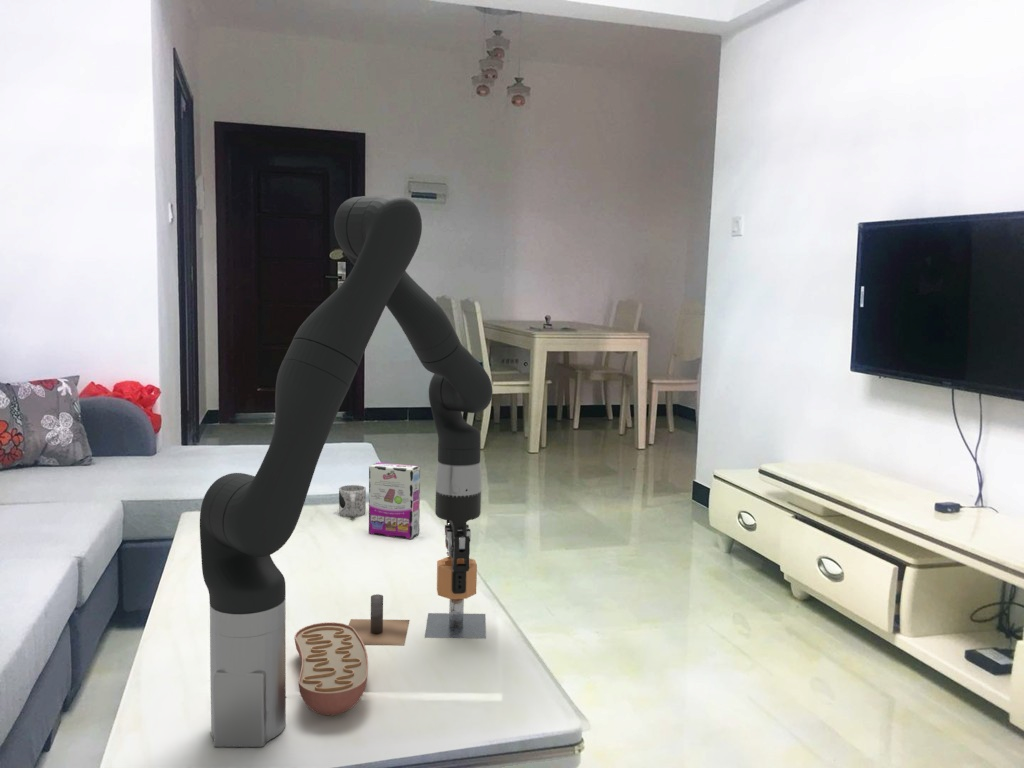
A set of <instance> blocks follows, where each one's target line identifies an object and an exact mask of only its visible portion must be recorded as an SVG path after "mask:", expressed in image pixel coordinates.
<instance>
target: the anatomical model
mask: <svg viewBox="0 0 1024 768" xmlns="http://www.w3.org/2000/svg"><path fill="white" fill-rule="evenodd" d="M294 643H295V648H296V651H297V653H298V655H299V657H300V660H301V669H300V672H299V675H298V689H299V693H300V696H301V697H300V698H301V699H302V701H303V702H304V703H305V705H306V706H307V707H308V708H309V709H311V710H312V711H313V712H314V713H317V714H320V715H324V716H336V715H341V714H344V713H346V712H348V711H350V710H351V709H352V708H353V707H354V706H356V704H358V702H359V701H360V700H361V697H362V696H363V695H364V692H365V689H366V687H367V681H368V675H369V659H368V652H367V649H366V645H364V643H363V641H362V640H361V638H360V636H359V635H358V634H357V632H356V631H355V629H354V628H352V627H351V626H349V624H345V623H341V622H320V623H319V622H318V623H313V624H310V625H307V626H306V625H305V627H302V628H300V629H299V630H297V632H295V634H294Z"/></svg>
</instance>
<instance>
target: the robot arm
mask: <svg viewBox="0 0 1024 768" xmlns="http://www.w3.org/2000/svg"><path fill="white" fill-rule="evenodd" d="M333 221H334V222H333V227H334V229H333V230H334V234H335V238H336V241H337V244H338V246H339V247H340V249H341V250H342V252H343V253H344V255H345V256H346V257H347V259H348V260H349V261H350V263H352V265H353V267H352V269H351V271H350V272H349V274H348V275H347V277H346V278H345V280H344V281H343V282H342V284H341V285H340V286H339V287H338V288H337V289H336V290H335V291H333V293H332V294H331V295H329V296H328V297H327V298H326V299H325V300H324V301H323V302H322V303H321V304H320V305H319V306H317V307H316V308H315V310H314V311H313V312H311V313H310V315H309V316H307V317H306V318H305V320H304V321H303V323H302V324H301V325H300V326H299V327H298V329H297V331H296V333H295V334H294V336H293V338H292V341H291V343H290V344H289V347H288V349H287V351H286V353H285V356H284V357H283V360H282V361H281V364H280V366H279V369H278V372H277V375H276V382H275V394H274V397H275V398H274V400H275V401H274V407H275V408H274V409H275V411H274V413H275V414H274V428H273V433H272V437H271V441H270V444H269V446H268V449H267V451H266V453H265V456H264V457H263V459H262V461H261V464H260V466H259V468H258V470H257V472H256V474H255V475H252V474H251V475H250V474H248V473H242V472H231V473H228V474H226V475H225V474H224V475H223V476H220V477H218V478H217V479H216V480H215V481H214V482H213V483H211V485H210V486H209V488H208V489H207V490H206V493H205V494H204V496H203V500H202V502H201V506H200V510H199V512H200V513H199V538H200V539H199V541H200V555H201V556H200V557H201V569H202V576H203V577H202V578H203V581H204V583H205V586H206V588H207V591H208V596H209V654H210V655H209V658H210V659H209V660H210V663H209V665H210V666H209V667H210V676H209V677H210V680H209V681H210V734H211V737H212V739H213V746H214V747H239V748H241V747H256V748H258V747H259V748H260V747H264V746H265V745H266V744H267V742H268V741H271V740H272V739H274V738H276V737H277V736H278V735H279V734H281V733H282V732H283V731H284V729H285V727H286V723H287V722H286V721H287V720H286V718H287V717H286V716H287V715H286V713H287V712H286V711H287V709H286V705H287V701H286V699H287V697H286V696H287V694H286V691H287V689H286V686H287V684H286V681H287V680H286V674H287V673H286V671H287V670H286V665H287V663H286V649H287V648H286V617H287V615H286V610H287V609H286V608H287V606H286V604H287V603H286V579H285V576H284V574H283V573H282V571H280V569H279V568H278V566H277V565H276V564H275V562H274V560H273V558H272V556H271V555H273V554H274V553H276V552H278V551H279V550H280V549H281V548H282V547H284V545H286V544H287V542H288V541H289V539H290V538H291V536H292V535H293V533H294V531H295V529H296V527H297V526H298V525H297V524H298V522H299V519H300V518H301V514H302V511H303V508H304V505H305V502H306V498H307V497H308V496H307V495H308V494H309V493H308V492H309V489H310V487H311V484H312V483H311V482H312V480H313V477H314V474H315V471H316V467H317V465H318V462H319V459H320V456H321V453H322V452H323V449H324V446H325V444H326V442H327V439H328V437H329V434H330V432H331V429H332V427H333V425H334V422H335V420H336V418H337V415H338V413H339V410H340V407H342V404H343V401H344V399H345V398H346V396H347V394H348V392H349V389H350V387H351V385H352V383H353V381H354V378H355V376H356V373H357V371H358V368H359V366H360V364H361V361H362V358H363V356H364V354H365V351H366V349H367V346H368V345H369V342H370V340H371V338H372V336H373V334H374V332H375V329H376V327H377V325H378V323H379V321H380V318H381V316H382V314H383V312H384V310H385V308H386V309H388V310H389V312H390V313H391V315H392V316H393V317H394V319H395V320H396V322H397V324H398V325H399V327H400V328H401V329H402V331H403V333H404V335H405V336H406V338H407V340H408V342H409V344H410V345H411V347H412V349H413V351H414V353H415V354H416V356H417V358H418V360H419V361H420V363H421V365H422V366H423V367H424V369H426V370H427V371H428V372H430V373H432V374H433V375H432V377H431V379H430V382H429V386H428V401H429V405H430V408H431V409H430V410H431V414H432V418H433V422H434V425H435V430H436V433H437V439H438V440H437V441H438V443H437V466H436V467H437V468H436V473H435V508H434V509H435V510H434V511H435V515H436V517H437V518H439V519H440V520H443V521H444V520H445V521H446V524H444V535H445V541H444V542H445V548H446V555H447V556H446V557H450V558H451V559H452V567H451V570H452V592H453V593H454V594H461V593H465V591H466V571H469V558H470V555H471V553H470V552H471V547H470V543H471V538H472V535H471V534H472V533H471V528H469V523H468V524H467V522H468V521H473V520H476V519H478V518H479V517H480V516H481V511H482V506H481V505H482V503H481V502H482V469H481V446H482V445H481V443H482V439H481V438H482V437H481V432H480V430H479V429H478V428H477V427H475V426H474V425H472V424H469V422H468V423H467V422H466V420H465V419H464V416H463V414H462V413H467V414H476V413H477V414H479V413H481V412H483V411H485V410H486V409H487V408H488V407H489V405H490V404H491V401H492V399H493V384H492V381H491V378H490V376H489V374H488V372H486V369H485V368H484V367H483V366H482V365H481V364H480V363H479V362H478V360H477V359H476V358H475V357H474V356H473V355H472V354H471V352H470V351H469V350H468V349H467V348H466V347H465V346H464V345H463V344H462V342H461V341H460V338H459V337H458V334H457V332H456V331H455V330H456V329H455V328H454V326H453V324H452V323H451V319H449V317H448V315H447V314H446V312H445V311H444V310H443V308H442V307H441V305H440V304H438V302H437V301H436V300H435V299H434V298H433V297H432V296H431V295H429V294H428V293H427V292H426V291H425V289H423V288H422V287H421V286H420V285H419V284H418V283H417V282H416V281H415V280H414V278H412V277H411V276H410V275H409V273H408V272H407V271H406V270H407V269H408V267H409V266H410V264H411V261H412V260H413V258H414V256H415V254H416V252H417V249H418V247H419V245H420V242H421V241H420V240H421V238H422V237H421V236H422V233H423V232H422V231H423V224H422V223H423V222H422V216H421V213H420V210H419V208H418V207H417V205H416V203H414V202H413V201H412V200H411V199H409V198H407V197H404V196H399V195H363V196H353V197H350V198H348V199H346V200H345V201H343V203H341V204H340V205H339V207H338V209H337V211H336V214H335V216H334V220H333ZM459 558H463V561H464V564H457V559H459Z"/></svg>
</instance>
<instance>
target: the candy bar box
mask: <svg viewBox="0 0 1024 768" xmlns="http://www.w3.org/2000/svg"><path fill="white" fill-rule="evenodd" d="M420 490H421V466H420V465H409V464H400V463H399V464H398V463H389V462H376V463H373V464H371V465H369V466H368V534H369V535H373V536H374V535H375V536H382V537H389V538H390V537H391V538H392V537H393V538H399V539H406V540H407V539H409V540H412V539H413V538H415V537H416V536H418V535H419V534H420V518H421V517H420V515H421V514H420V511H421V510H420V509H421V508H420V505H421V503H420V500H421V498H420V495H421V494H420V493H421V491H420Z"/></svg>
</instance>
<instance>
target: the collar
mask: <svg viewBox="0 0 1024 768" xmlns="http://www.w3.org/2000/svg"><path fill="white" fill-rule="evenodd" d="M457 564H464V561H463V558H459V559H457ZM451 567H452V559H451V558H450V557H449V556H446V557H443V558H440V559H438V560H437V561H436V592H437V596H439V597H442V598H445V599H448V600H450V599H464V600H465V599H466V600H467V599H470V598H471V597H473V596H474V595H477V582H478V580H477V579H478V577H477V575H478V573H477V571H478V565H477V562H476V560H475V559H474V558H470V557H469V571H466V591H465V593H461V594H454V593H453V592H452V570H451Z"/></svg>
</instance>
